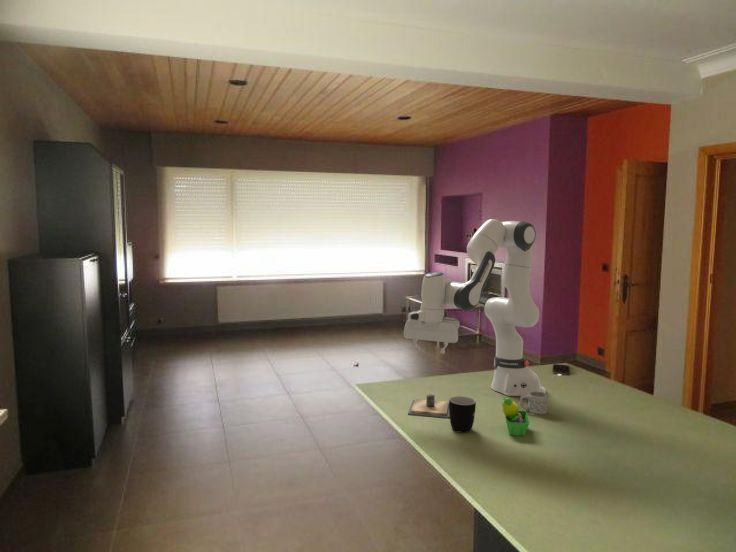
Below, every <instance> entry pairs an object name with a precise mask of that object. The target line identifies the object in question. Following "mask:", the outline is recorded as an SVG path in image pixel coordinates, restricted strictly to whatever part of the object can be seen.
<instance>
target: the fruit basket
mask: <svg viewBox="0 0 736 552" xmlns="http://www.w3.org/2000/svg"><path fill="white" fill-rule="evenodd" d="M501 402H502V403H501V405H502V412H503V415H504V416H505V423H506V426H507V427H506V428H507V430H508V435H509V436H511V435H512V436H521V437H525V436H526V433H527V430H528V427H529V426H530V419H529V414H528V412H527V411H525V410H520V405H519V404H517V403H516V402H514V401H513V400H512V399H511V398H510V397H504V398H503V400H502V401H501Z"/></svg>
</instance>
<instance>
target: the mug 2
mask: <svg viewBox="0 0 736 552" xmlns="http://www.w3.org/2000/svg"><path fill="white" fill-rule="evenodd" d="M519 397H520V398H519V408H521V409H524V410H527V411H528V412H529V413H531V414H534V415H546V414H547V410H548V394H547V393H546V394H545V393H543V392H529V395H526V396H519ZM524 399H527V400H528V402H527V403H528V405H523V401H524Z"/></svg>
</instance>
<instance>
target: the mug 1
mask: <svg viewBox="0 0 736 552" xmlns="http://www.w3.org/2000/svg"><path fill="white" fill-rule="evenodd" d="M448 402H449V422H450V428H451V429H452V430H453V431H455V432H457V433H469V432H470V431H471V430H472V428H473V426H474V423H475V416H476V407H477V405H476V403H477V402H476V399H474V398H472V397H468V396H462V395H461V396H460V395H459V396H452V397H450V398H449V401H448Z"/></svg>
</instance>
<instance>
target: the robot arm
mask: <svg viewBox="0 0 736 552" xmlns="http://www.w3.org/2000/svg"><path fill="white" fill-rule="evenodd" d="M536 235H537V234H536V229H535V228H534V225H533V224H532V223H530V222H527V221H517V220H507V221H505V220H504V221H500V220H498V219H495V218H489V219H487V220H486V221H484V222H483V224H482V225H480V226H479V227H478V229H477V230H476V231H475V232H474V233H473V235H472V236H471V238H470V239H469V241H468V242H467V246H466V253H467V256H468V258H469V259H470V260H471V261H472V262H473V263H474V264H475V265H476V267H475V268H474V271H473V273H472V275H471V277H470V279H469V280H468V281H466V282H459V281H454V280H452V279H450V278H448V277H447V276H445V273H444V272H441V271H440V272H439V271H435V272H434V271H432V272H428V273H426V274H424V275H423V279H422V284H421V292H420V296H421V304H420V309H419V310H416V311H415V310H414V311H411V312H409V313H408V314H407V321H406V322H405V324H404V329H403V338H404V339H410V340H412V343H413V345H414V347H415V348H414V351H415V352H420V348H421V347H420V345H418V343H417V342H418V341H419V340H420V341H421V340H422V341H429V342H439V343H440V342H441V343H443V347H442V348H441V347H440V350H439V351H440V352H439V353H440V354H441V355H444V354H445V352H446V351H445V350H446V348H447V347H448V345H449V343H450V344H451V343H452V344H456V343H457V342H458V341H459V331H458V330H459V329H460V326H461V324H460V320H458V319H457V318H456V317H449V316H445V306H447V307H451V308H455V309H456V308H457V309H459V310H463V311H464V312H470V311H473V310H474V309H476V308H477V306H478V305H479V304H480V301H481V299H482V294H483V291H484V289H485V287H486V284H487V282H488V280H489V278H490V277H491V275H492V272H493V269H494V267H495V263H496V256H495V254H496V252H497V251H498V249H499V248H505V249H506V250H507V252H506V256H505V260H504V265H503V272H502V278H501V279H502V280H501V281H502V282H501V283H502V285H503V287H505V288H506V290H507V292H508V297H502V296H497V297H491V298H489V299H488V300H487V301H486V302H485V305H484V309H483V310H484V314H485V317H487V319H488V320H489V322H490V323H491V325H492V327H493V330H494V334H495V354H494V359H493V360H494V361H493V367H494V368H493V369H494V373H493V377H492V382H491V384H490V389H492V391H495V392H498V393H501V394H504V395H505V396H511V397H514V396H515V397H521V396H526V395H529V392H543V393H545V394H547V391H546V388H545V386H542V385H541V381H540V380H541V379H540V378H539V377H540V376H538V375H537V373H536V372H535V371H533V370H532V369H531V368H529V365H530V362H529V360H528V359H526V357H524V355H523V354H524V350H523V349H524V339H523V337H522V336H521V335H520V334H519V332H518V331H517V329H516V327H518V328H532V327H534V326H535V325H536V324H537V323H538V322H539V319H540V310H539V308H538V307H539V306H537V304H536V303H535V302H534V300H533V298H532V295H531V291H530V290H531V288H530V284H531V283H530V282H531V274H532V272H531V271H532V265H533V247H532V246H533V244H534V242H535V241H536V240H535V239H536Z"/></svg>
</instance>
